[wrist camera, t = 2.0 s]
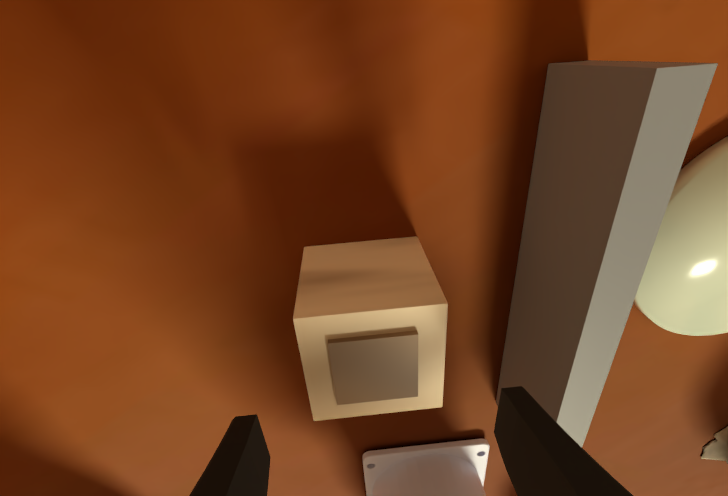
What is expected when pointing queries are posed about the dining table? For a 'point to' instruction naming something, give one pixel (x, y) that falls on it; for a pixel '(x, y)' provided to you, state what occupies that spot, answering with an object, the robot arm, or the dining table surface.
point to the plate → (691, 251)
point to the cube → (370, 328)
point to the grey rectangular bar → (593, 222)
